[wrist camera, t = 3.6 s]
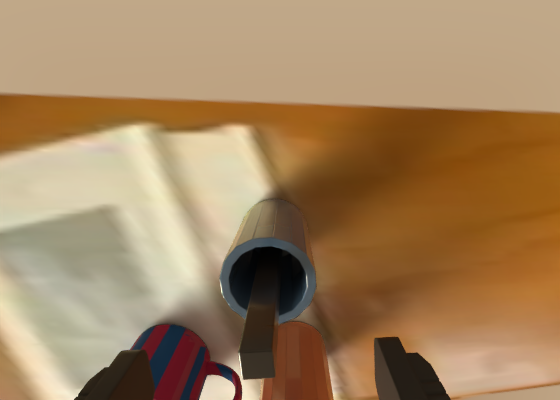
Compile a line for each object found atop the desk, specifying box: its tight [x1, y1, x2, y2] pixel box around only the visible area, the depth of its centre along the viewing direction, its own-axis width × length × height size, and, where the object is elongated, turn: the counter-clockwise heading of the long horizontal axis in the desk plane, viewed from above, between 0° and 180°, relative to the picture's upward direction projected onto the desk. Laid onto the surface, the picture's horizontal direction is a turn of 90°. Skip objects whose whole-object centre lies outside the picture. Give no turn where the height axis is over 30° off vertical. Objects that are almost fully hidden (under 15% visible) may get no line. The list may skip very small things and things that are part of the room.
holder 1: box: [219, 199, 316, 324], centre depth 20 cm, size 5×5×8 cm
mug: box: [130, 324, 242, 400], centre depth 24 cm, size 7×10×7 cm
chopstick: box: [238, 246, 282, 380], centre depth 17 cm, size 1×1×13 cm
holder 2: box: [259, 322, 334, 400], centre depth 23 cm, size 5×5×8 cm
